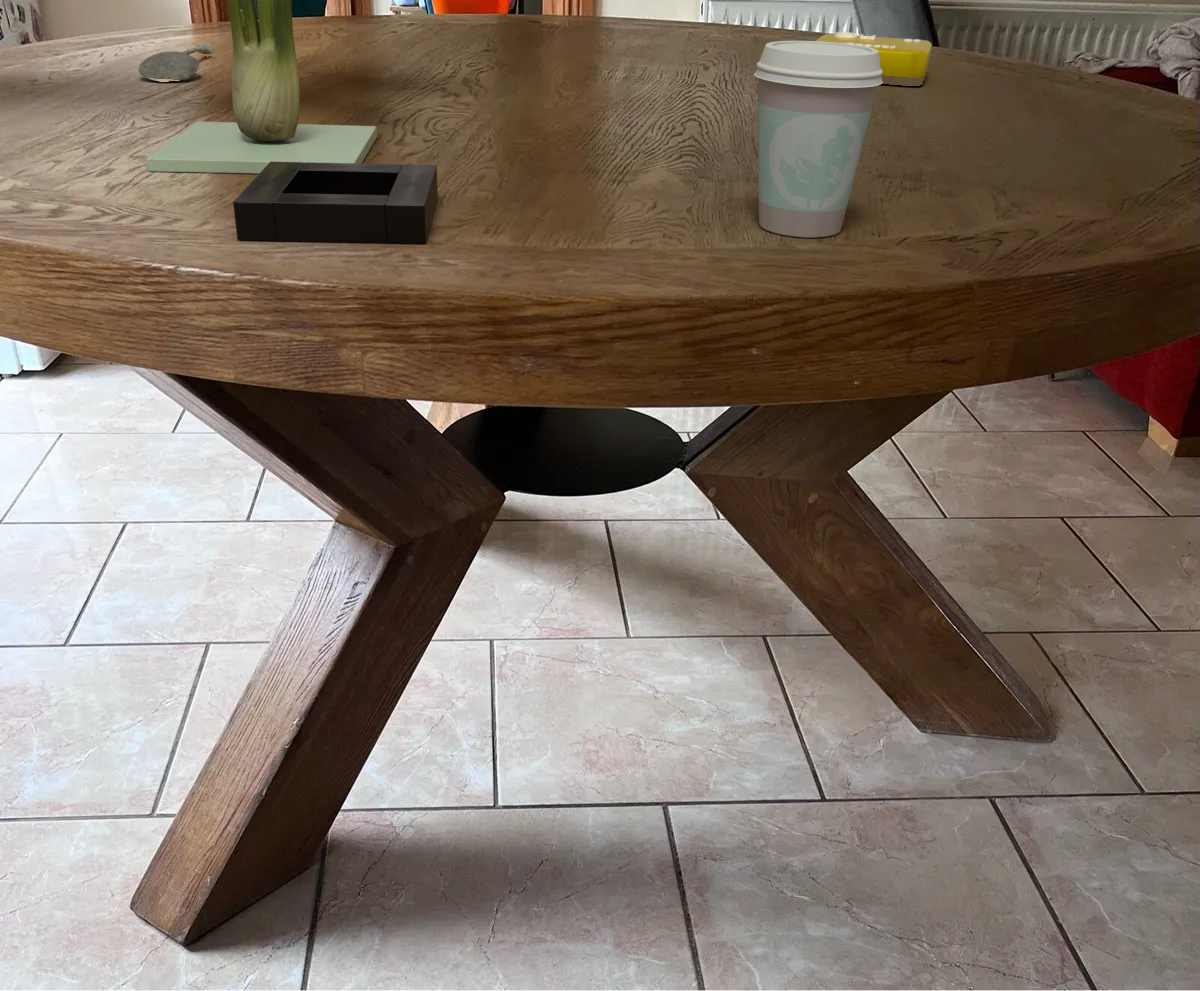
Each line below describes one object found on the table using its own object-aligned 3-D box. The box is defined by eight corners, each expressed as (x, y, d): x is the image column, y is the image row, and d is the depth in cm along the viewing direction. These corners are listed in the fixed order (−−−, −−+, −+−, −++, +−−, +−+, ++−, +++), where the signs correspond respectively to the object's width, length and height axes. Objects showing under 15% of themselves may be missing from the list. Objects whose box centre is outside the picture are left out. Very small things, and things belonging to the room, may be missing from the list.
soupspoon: (132, 88, 126) (192, 92, 126) (128, 56, 124) (189, 61, 125) (182, 54, 145) (234, 59, 145) (179, 27, 143) (232, 31, 144)
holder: (237, 240, 72) (232, 201, 71) (273, 195, 82) (269, 161, 81) (425, 244, 73) (424, 205, 72) (437, 199, 83) (436, 165, 82)
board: (147, 171, 88) (145, 158, 87) (199, 132, 102) (197, 121, 101) (354, 176, 89) (353, 163, 88) (377, 137, 103) (376, 126, 102)
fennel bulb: (312, 143, 95) (299, -13, 89) (259, 149, 92) (242, -11, 86) (277, 132, 98) (262, -18, 93) (225, 138, 95) (207, -17, 89)
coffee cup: (730, 235, 77) (747, 49, 71) (749, 207, 84) (766, 36, 79) (856, 249, 75) (884, 59, 70) (864, 219, 83) (890, 44, 77)
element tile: (805, 79, 147) (809, 40, 144) (819, 65, 159) (823, 29, 157) (922, 88, 143) (929, 48, 141) (927, 73, 156) (933, 36, 153)
